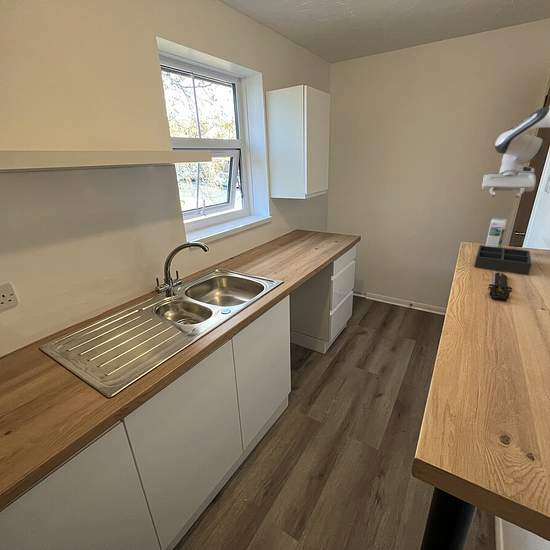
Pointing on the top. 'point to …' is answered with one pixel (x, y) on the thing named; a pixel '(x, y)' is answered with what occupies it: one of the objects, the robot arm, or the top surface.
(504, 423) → the top surface
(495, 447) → the top surface
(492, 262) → the tray
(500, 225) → the syrup box
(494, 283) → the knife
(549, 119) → the robot arm
